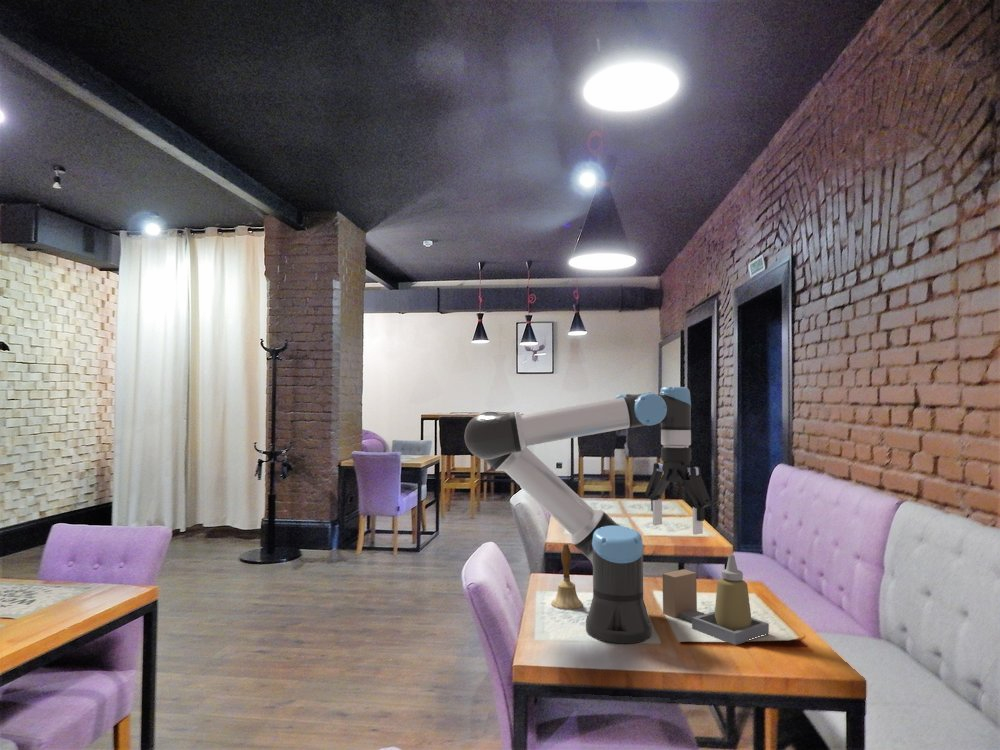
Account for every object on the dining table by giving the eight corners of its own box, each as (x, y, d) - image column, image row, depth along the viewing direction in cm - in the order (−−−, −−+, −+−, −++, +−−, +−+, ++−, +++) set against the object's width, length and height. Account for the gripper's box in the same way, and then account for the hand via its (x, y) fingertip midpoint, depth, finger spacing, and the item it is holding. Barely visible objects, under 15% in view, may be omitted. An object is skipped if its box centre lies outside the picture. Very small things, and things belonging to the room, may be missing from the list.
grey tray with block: (657, 614, 153) (656, 574, 154) (689, 606, 159) (689, 568, 160) (735, 645, 134) (734, 599, 134) (768, 634, 140) (767, 590, 140)
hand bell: (572, 611, 156) (572, 549, 157) (545, 605, 161) (545, 544, 162) (588, 603, 163) (587, 543, 164) (561, 597, 168) (561, 539, 169)
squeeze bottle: (713, 637, 139) (711, 557, 140) (716, 625, 146) (715, 550, 147) (751, 642, 135) (749, 561, 136) (752, 630, 143) (751, 553, 144)
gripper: (725, 448, 148) (726, 536, 147) (651, 443, 170) (652, 519, 169) (704, 449, 145) (705, 539, 143) (631, 444, 166) (632, 522, 165)
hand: (676, 529), depth 156 cm, fingers open, 13 cm apart
